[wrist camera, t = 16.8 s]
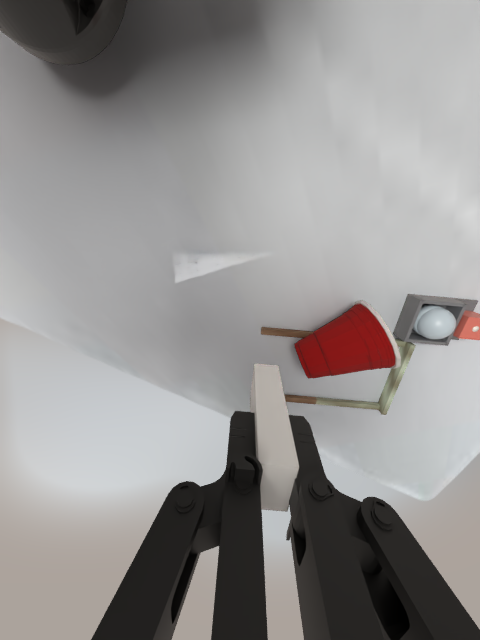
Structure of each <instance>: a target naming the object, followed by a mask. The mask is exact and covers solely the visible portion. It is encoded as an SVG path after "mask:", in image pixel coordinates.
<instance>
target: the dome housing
mask: <svg viewBox="0 0 480 640" xmlns="http://www.w3.org/2000/svg"><path fill="white" fill-rule="evenodd" d="M477 302H478V300H469V299H458V298H447V297H435V296H424V295H413V294H408V296H407V298H406V301H405V304H404V306H403V309H402V311H401V314H400V317H399V319H398V322H397V325H396V327H395V330H394V333H393V334H395V335H396V336H397V337H399V338H400V339H401V340H403V341H404V342H414V343H425V344H436V345H447V346H448V344H449V342H450V340H451V339H454V340H459V338H462V339H473V340H480V314H478V313H476V312H473V310H474V308H475V306H476V304H477ZM424 304H435V305H437V306H440V307H442V308H444V309H446V310H448V311H450V312H451V313H452V314H453V315H454V317H455V319H456V327H455V329H454V331H453V332H452V333H451V334H450V335H449V336H447V337H445V338H442V339H428V338H425V337H423V336H421V335H420V334H418V333H417V332H415V331H414V330H412V329H413V327H414V324H415V322H416V319H417V317H418V314H419V312H420V309H421V307H422V305H424Z"/></svg>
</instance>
